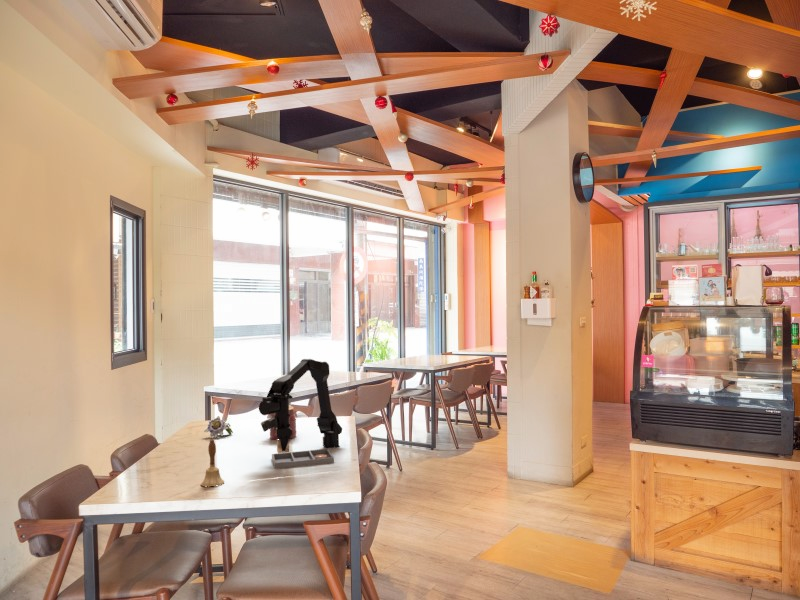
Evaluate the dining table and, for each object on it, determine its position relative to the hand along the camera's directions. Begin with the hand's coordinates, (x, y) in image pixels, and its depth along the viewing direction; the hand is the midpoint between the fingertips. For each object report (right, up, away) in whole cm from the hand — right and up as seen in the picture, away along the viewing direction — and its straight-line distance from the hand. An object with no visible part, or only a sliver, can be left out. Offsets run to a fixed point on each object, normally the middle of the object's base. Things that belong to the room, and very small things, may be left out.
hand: (283, 449), depth 236 cm
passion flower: (-45, -9, +59) cm, 75 cm away
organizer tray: (+8, -6, +2) cm, 10 cm away
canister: (-10, -7, +52) cm, 53 cm away
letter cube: (0, -1, 0) cm, 1 cm away
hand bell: (-21, -6, -25) cm, 33 cm away
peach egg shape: (+15, -5, +4) cm, 16 cm away
